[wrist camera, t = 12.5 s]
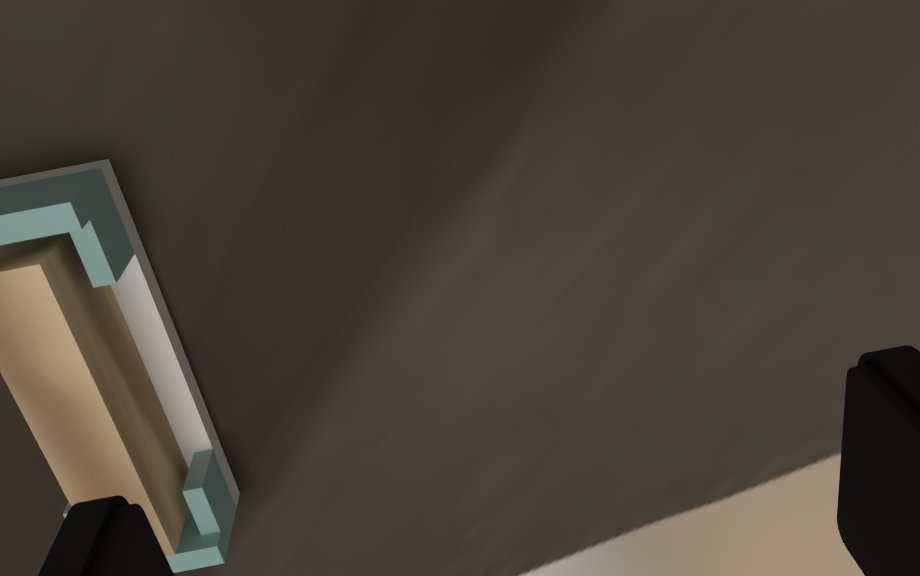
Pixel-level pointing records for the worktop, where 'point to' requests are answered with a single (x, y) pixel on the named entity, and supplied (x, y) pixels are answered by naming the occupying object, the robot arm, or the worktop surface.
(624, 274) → the worktop surface
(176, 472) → the light brown long block
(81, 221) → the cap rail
